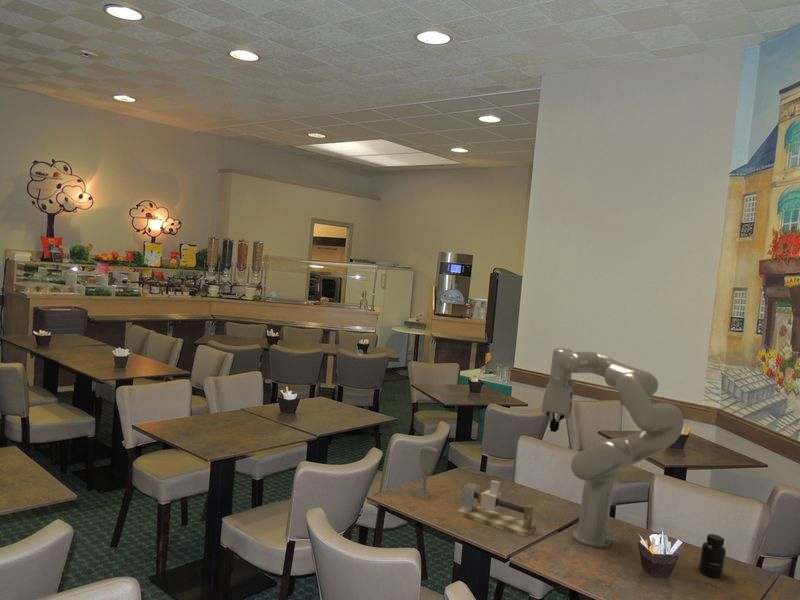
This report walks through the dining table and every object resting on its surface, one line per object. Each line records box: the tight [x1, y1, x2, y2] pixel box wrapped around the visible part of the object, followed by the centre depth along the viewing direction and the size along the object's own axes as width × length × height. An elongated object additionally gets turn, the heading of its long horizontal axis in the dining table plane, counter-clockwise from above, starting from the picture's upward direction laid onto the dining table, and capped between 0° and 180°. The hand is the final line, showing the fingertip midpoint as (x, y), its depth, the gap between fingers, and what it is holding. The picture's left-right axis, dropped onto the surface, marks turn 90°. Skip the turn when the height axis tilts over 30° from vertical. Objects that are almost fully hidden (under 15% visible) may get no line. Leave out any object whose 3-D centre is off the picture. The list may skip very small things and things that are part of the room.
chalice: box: [416, 445, 438, 499], centre depth 242 cm, size 7×7×18 cm
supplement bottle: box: [698, 533, 727, 579], centre depth 201 cm, size 7×7×12 cm
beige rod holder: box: [456, 504, 537, 538], centre depth 225 cm, size 26×10×9 cm, turn 58°
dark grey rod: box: [475, 492, 525, 514], centre depth 225 cm, size 21×2×2 cm, turn 58°
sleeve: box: [480, 479, 502, 511], centre depth 226 cm, size 5×5×10 cm
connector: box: [460, 482, 486, 512], centre depth 229 cm, size 7×5×8 cm
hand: (553, 431), depth 233 cm, fingers closed
